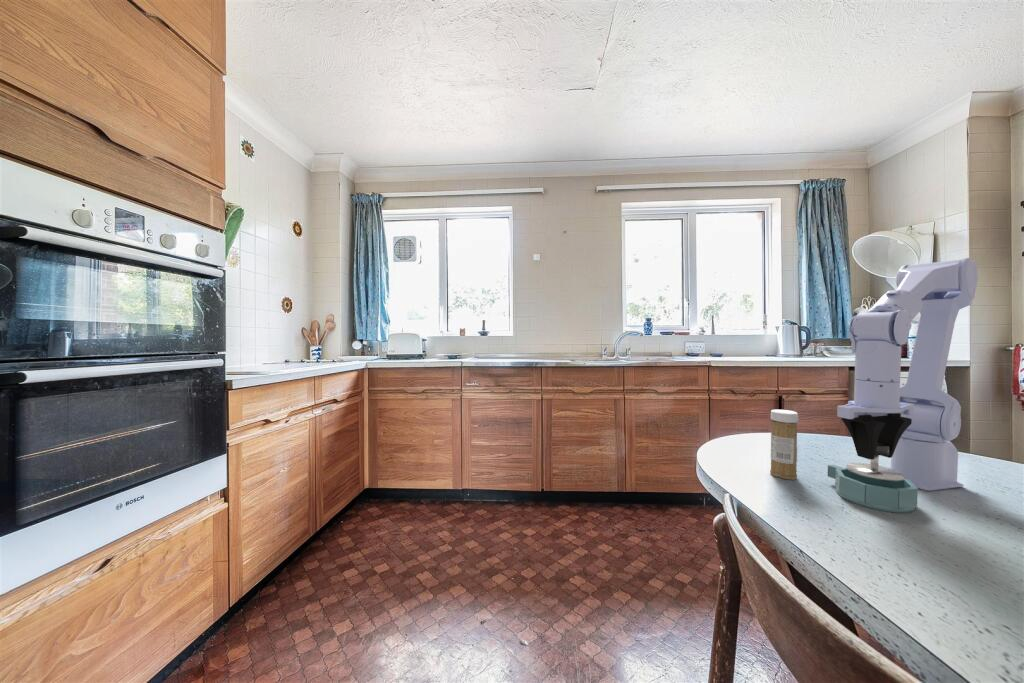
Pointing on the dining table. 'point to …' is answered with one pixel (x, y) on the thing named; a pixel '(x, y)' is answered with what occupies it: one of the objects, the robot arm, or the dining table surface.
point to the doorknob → (876, 467)
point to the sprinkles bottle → (784, 443)
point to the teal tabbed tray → (874, 491)
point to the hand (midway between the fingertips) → (874, 456)
